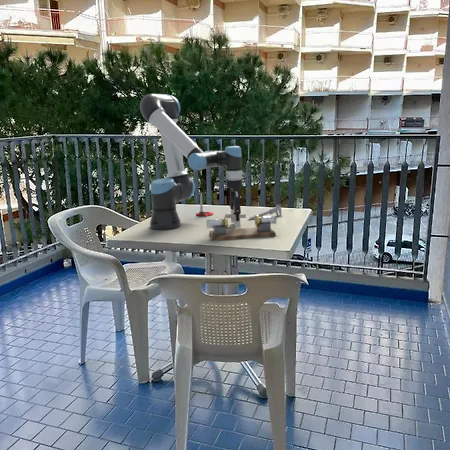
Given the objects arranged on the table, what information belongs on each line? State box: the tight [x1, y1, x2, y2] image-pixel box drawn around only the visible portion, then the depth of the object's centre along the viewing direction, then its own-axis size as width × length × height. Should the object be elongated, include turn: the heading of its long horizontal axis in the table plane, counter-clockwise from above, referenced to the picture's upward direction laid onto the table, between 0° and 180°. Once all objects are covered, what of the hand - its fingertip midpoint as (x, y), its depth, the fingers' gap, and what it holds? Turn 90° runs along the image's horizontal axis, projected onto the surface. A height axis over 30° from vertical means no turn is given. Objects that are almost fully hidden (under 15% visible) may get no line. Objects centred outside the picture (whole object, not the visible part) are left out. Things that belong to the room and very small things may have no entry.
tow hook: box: [195, 192, 214, 217], centre depth 234 cm, size 8×13×9 cm
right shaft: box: [254, 214, 277, 232], centre depth 190 cm, size 9×6×7 cm, turn 98°
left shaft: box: [206, 216, 229, 235], centre depth 187 cm, size 9×6×7 cm, turn 98°
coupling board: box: [208, 226, 277, 242], centre depth 190 cm, size 28×12×2 cm, turn 98°
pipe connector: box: [224, 206, 247, 228], centre depth 205 cm, size 10×10×10 cm
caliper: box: [247, 204, 282, 221], centre depth 222 cm, size 20×1×6 cm, turn 117°
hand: (235, 224), depth 206 cm, fingers closed on pipe connector, 10 cm apart
